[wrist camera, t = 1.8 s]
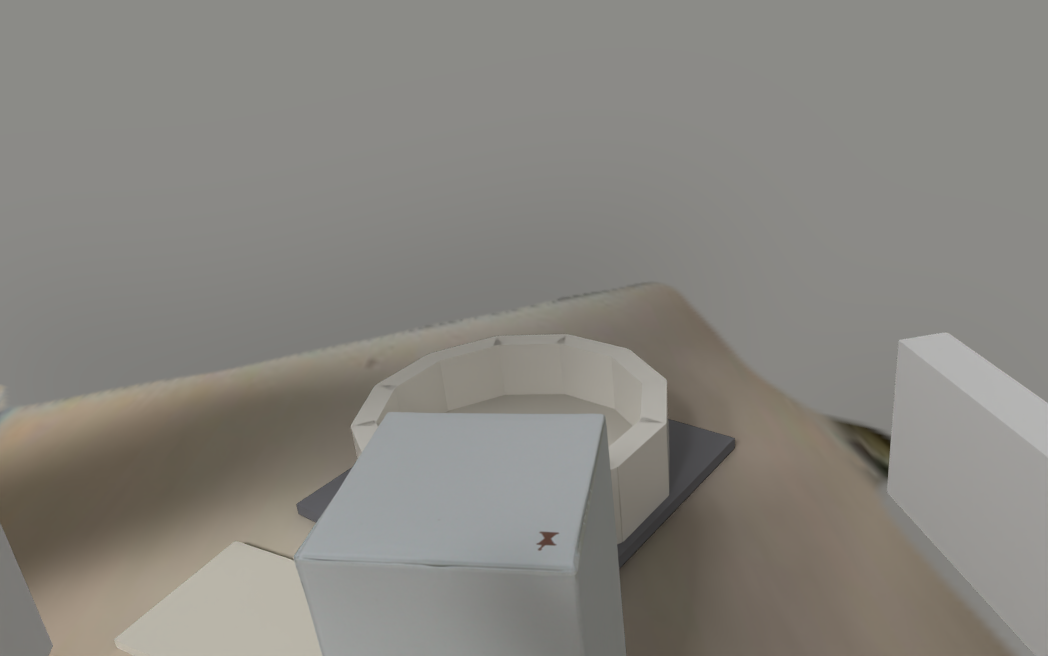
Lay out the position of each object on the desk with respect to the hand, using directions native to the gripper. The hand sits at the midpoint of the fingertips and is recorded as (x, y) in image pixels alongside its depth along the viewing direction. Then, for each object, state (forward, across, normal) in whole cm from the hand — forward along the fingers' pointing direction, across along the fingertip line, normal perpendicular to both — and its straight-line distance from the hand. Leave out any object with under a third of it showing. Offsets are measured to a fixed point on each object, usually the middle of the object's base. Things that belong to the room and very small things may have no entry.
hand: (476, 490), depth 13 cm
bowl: (+28, +3, -18) cm, 33 cm away
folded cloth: (+20, -10, -19) cm, 30 cm away
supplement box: (+10, 0, -19) cm, 21 cm away
